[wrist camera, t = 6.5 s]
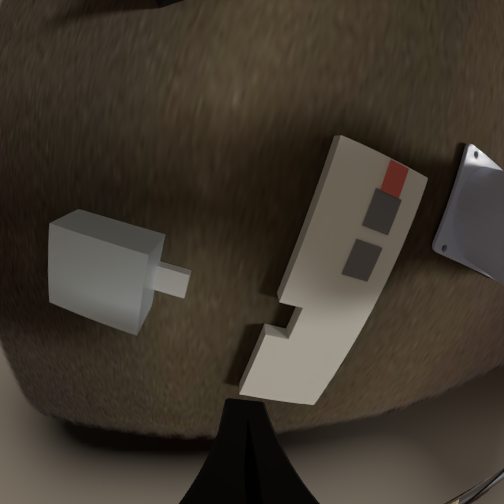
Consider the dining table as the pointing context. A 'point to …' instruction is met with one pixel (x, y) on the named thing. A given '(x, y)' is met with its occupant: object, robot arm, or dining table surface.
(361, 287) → the power strip
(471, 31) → the dining table surface
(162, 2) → the speaker
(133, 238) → the charger
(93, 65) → the dining table surface
